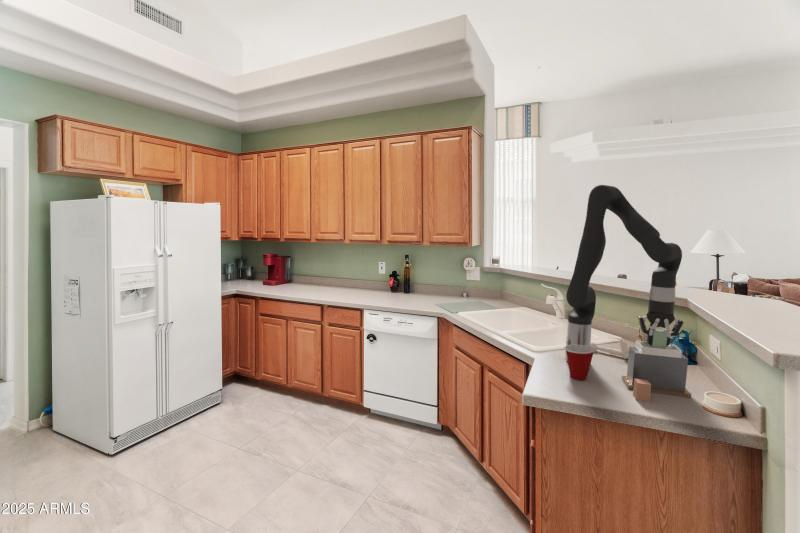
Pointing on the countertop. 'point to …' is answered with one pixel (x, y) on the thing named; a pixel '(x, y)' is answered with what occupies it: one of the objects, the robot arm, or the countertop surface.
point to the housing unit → (658, 368)
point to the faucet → (623, 352)
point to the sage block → (659, 339)
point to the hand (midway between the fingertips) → (657, 345)
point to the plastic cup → (579, 360)
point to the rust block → (642, 390)
